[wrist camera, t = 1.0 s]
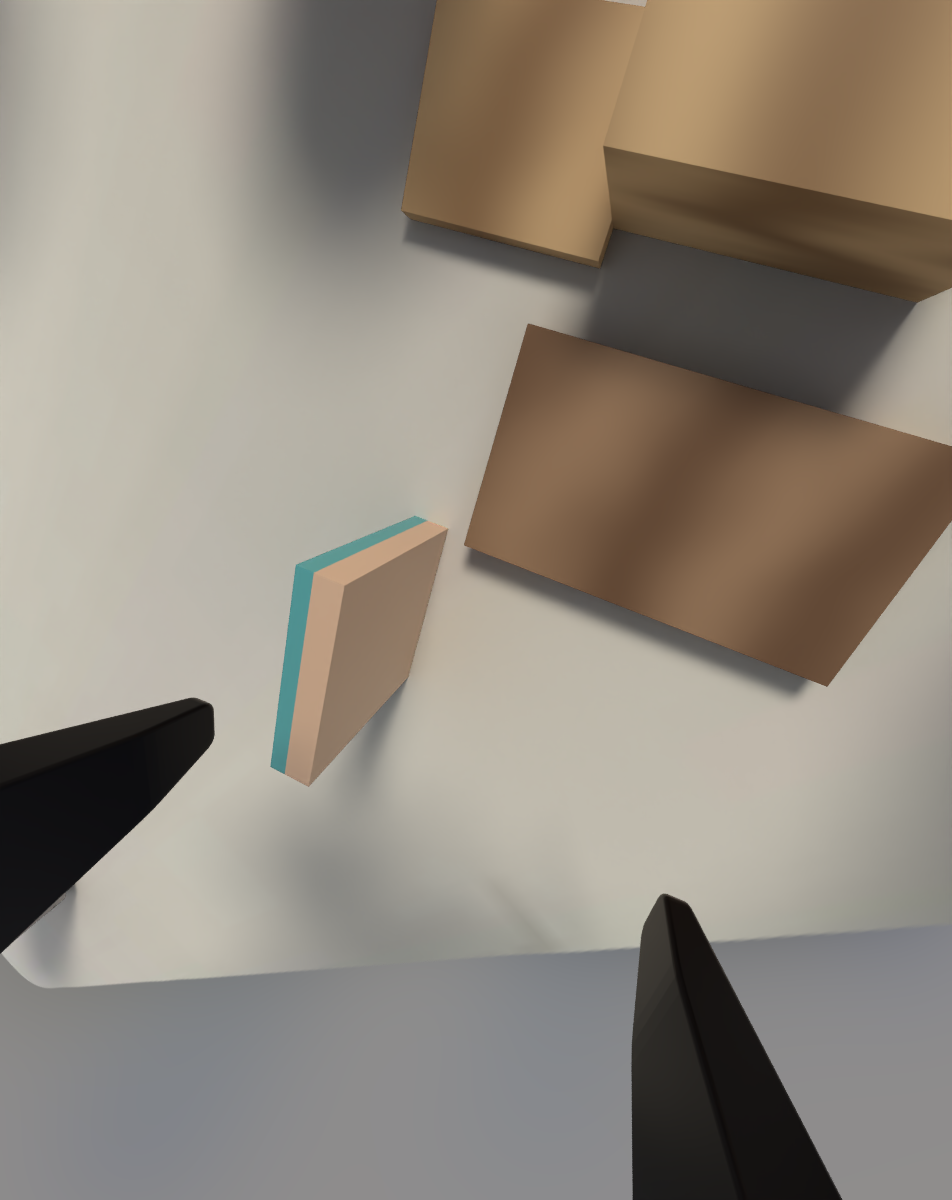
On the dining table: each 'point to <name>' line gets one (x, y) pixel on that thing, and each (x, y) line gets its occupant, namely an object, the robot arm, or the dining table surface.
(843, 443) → the board
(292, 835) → the dining table surface
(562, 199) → the stepped wooden block
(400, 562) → the tile
